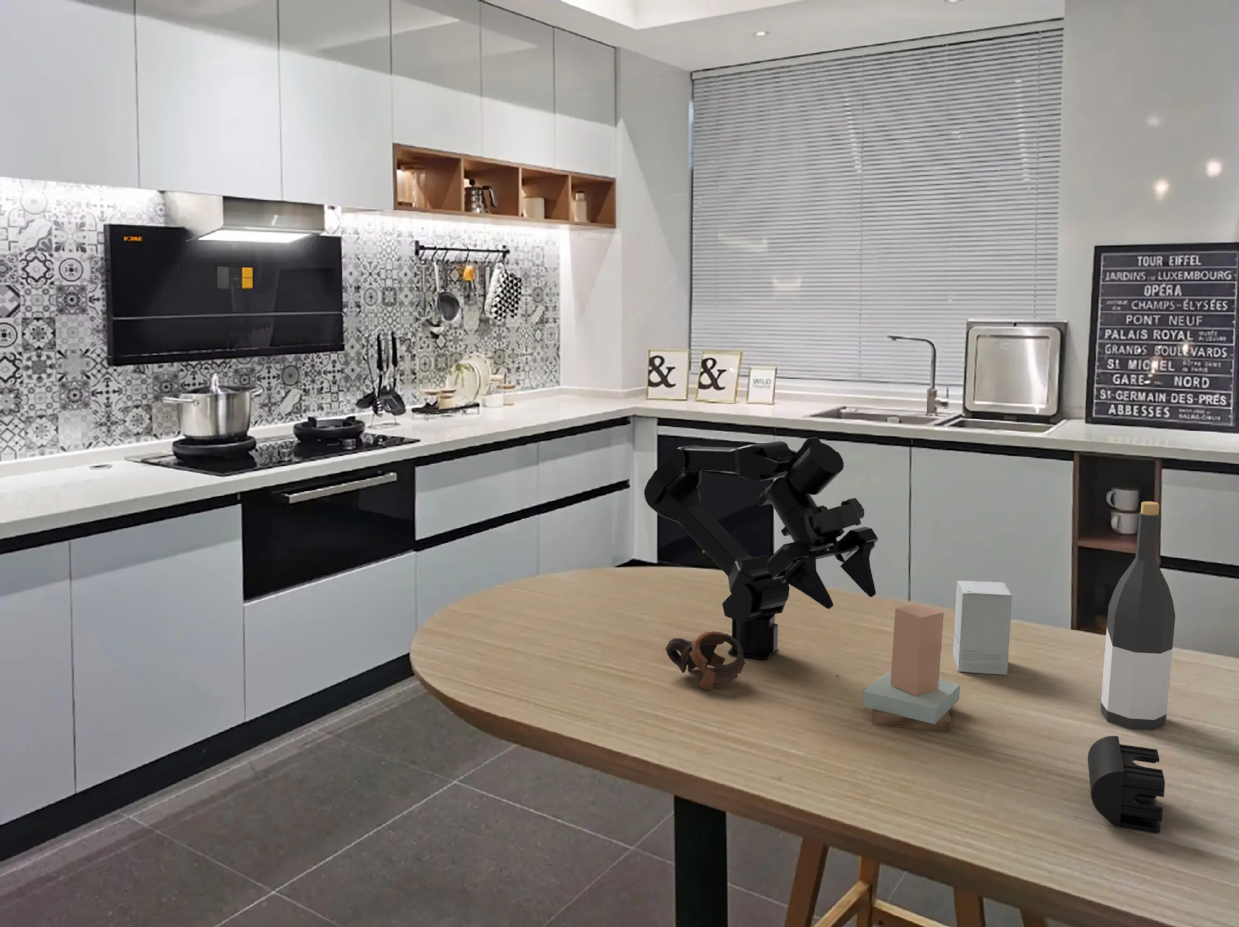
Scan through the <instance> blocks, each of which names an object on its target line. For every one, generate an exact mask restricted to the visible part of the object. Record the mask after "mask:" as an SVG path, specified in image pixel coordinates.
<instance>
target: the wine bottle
mask: <svg viewBox="0 0 1239 927" xmlns="http://www.w3.org/2000/svg"><path fill="white" fill-rule="evenodd" d="M1140 506H1141V507H1140V511H1139V512H1138V514H1137V517H1138V524H1137V536H1136V547H1135V549H1136V550H1135V558H1134V559H1133V561H1132V562H1131V564H1130V565H1129V566H1128V567H1127V569H1126V571H1124V573H1123V574H1122V575H1121V577H1120V578H1119V580H1118V582H1117V584H1116V586H1115V588H1114V590H1113V592H1112V594H1111V598H1110V601H1109V604H1108V607H1107V609H1108V610H1107V620H1106V622H1107V623H1106V632H1105V633H1106V634H1105V647H1104V658H1103V671H1102V672H1103V673H1102V684H1101V686H1102V687H1101V698H1100V713H1101V715H1102V717H1104V719H1105V720H1106V722H1108V723H1110V724H1114V725H1116V726H1119V727H1122V728H1124V729H1128V730H1137V729H1138V730H1141V731H1154V730H1157V729H1158V728H1159V729H1160V728H1161V727H1164V726H1165V725H1166V720H1167V716H1168V715H1167V713H1168V704H1169V703H1168V702H1169V691H1170V690H1169V689H1170V680H1171V669H1172V659H1173V646H1174V635H1175V634H1174V633H1175V624H1176V611H1175V605H1174V600H1173V597H1172V593H1171V590H1170V587H1169V585H1168V582H1167V580H1166V578H1165V576H1164V574H1163V572H1162V570H1161V568H1160V565H1159V564H1158V561H1157V554H1158V553H1157V551H1158V542H1159V540H1158V539H1159V530H1160V520H1161V518H1162V515H1161V513H1159V512H1160V504H1159V503H1158V502H1155V501H1145V500H1144V501H1142V502H1141V505H1140ZM1163 725H1164V726H1163Z"/></svg>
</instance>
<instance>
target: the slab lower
mask: <svg viewBox="0 0 1239 927" xmlns="http://www.w3.org/2000/svg"><path fill="white" fill-rule="evenodd" d="M871 718H872V721H871V722H872V725H877V726H885V725H888V727H896V726H900V727H899V728H909V729H916V730H917V729H918V730H919V729H920V730H928V731H930V730H932V731H940V732H950V731H951V717H950V710H949V711H948V712H947V713H946V714H945V715H944V716H943V717H942V718H941V719H940V720H939V721H938V722H937V723H936V724H932V723H928V722H924V721H920V720H916V719H912V718H908V717H903V716H899V715H895V714H891V713H887V712H883V711H879V710H875V709H872V717H871Z"/></svg>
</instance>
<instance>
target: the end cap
mask: <svg viewBox="0 0 1239 927" xmlns="http://www.w3.org/2000/svg"><path fill="white" fill-rule="evenodd" d="M1087 752H1088V754H1087V766H1088V768H1087V769H1088V777H1089V787H1090V788H1089V789H1090V797H1091V798H1090V799H1091V801H1092V805H1093V806H1094V808H1095V810H1096V811H1097V813H1098V814H1099V815H1101V816H1102V817H1104V819H1105V820H1107V822H1109V823H1110V824H1112V826H1115V827H1117V828H1122V829H1126V830H1133V831H1137V832H1138V831H1140V832H1146V833H1152V834H1160V833H1161V822H1162V820H1163V812H1164V811H1163V810H1164V808H1163V806H1159V805H1156V799H1157V797H1160V798H1165V789H1166V788H1165V787H1166V786H1165V785H1166V780H1165V776H1164V772H1163V769H1160V768H1154V767H1146V766H1141V765H1139V764H1137V763H1135V762H1134V761H1136V762H1143V763H1150V764H1156V763H1160V756H1159V751H1158V749H1156V748H1151V747H1143V746H1136V745H1135V746H1134V745H1128V744H1122V743H1120V738H1119V736H1118V735H1109V736H1104V737H1100V738H1099V739H1097V740H1096V741H1095V742H1093V744H1092V745H1091V747H1090V748H1089V750H1088V751H1087Z"/></svg>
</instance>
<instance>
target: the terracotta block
mask: <svg viewBox="0 0 1239 927" xmlns="http://www.w3.org/2000/svg"><path fill="white" fill-rule="evenodd" d="M943 626H944V611H941V610H938V609H935V608H932V607H930V606H927V605H924V604H920V603H914V604H909V605H905V606H902V607H897V608H895V610H894V624H893V638H892V639H893V640H892V655H891V657H892V658H891V668H890V669H891V684H890V685H891V686H894V687H896V688H899V689H901V690H903V691H906V692H908V693H910V694H913V695H915V696H917V695H921V694H924V693H927V692H931V691H934V690H937V689H938V684H939V680H940V670H941V668H940V667H941V655H942V643H943V642H942V641H943V630H944V629H943V628H944V627H943Z"/></svg>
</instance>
